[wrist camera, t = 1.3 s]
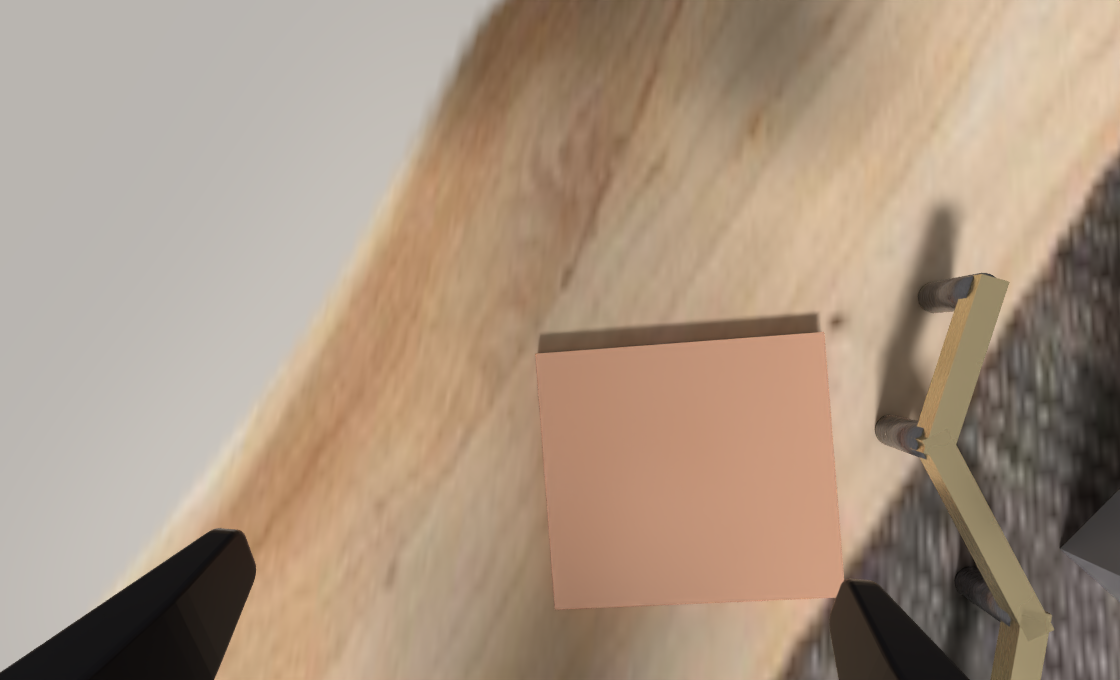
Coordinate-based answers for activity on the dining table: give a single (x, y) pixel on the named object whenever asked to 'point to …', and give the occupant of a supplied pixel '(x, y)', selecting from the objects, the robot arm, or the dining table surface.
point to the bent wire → (934, 442)
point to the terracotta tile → (690, 472)
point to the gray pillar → (1099, 546)
